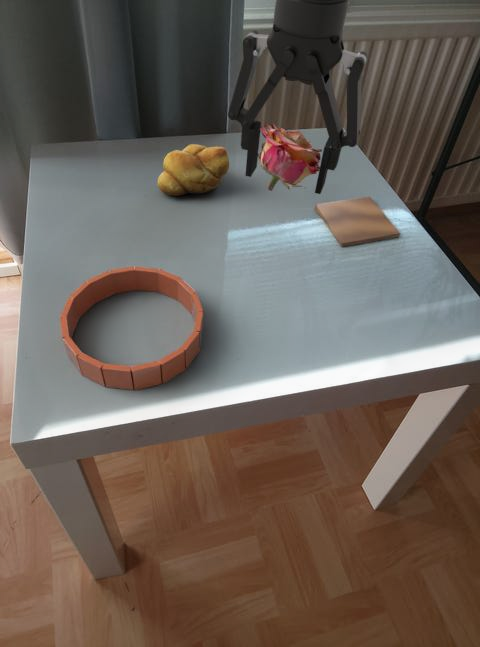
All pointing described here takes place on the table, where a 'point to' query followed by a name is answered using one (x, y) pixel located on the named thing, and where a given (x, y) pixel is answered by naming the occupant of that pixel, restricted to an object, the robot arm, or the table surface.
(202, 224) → the table surface
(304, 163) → the flower
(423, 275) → the table surface
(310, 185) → the table surface
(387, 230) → the brown wooden square board
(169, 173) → the bread roll
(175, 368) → the terracotta brick ring
